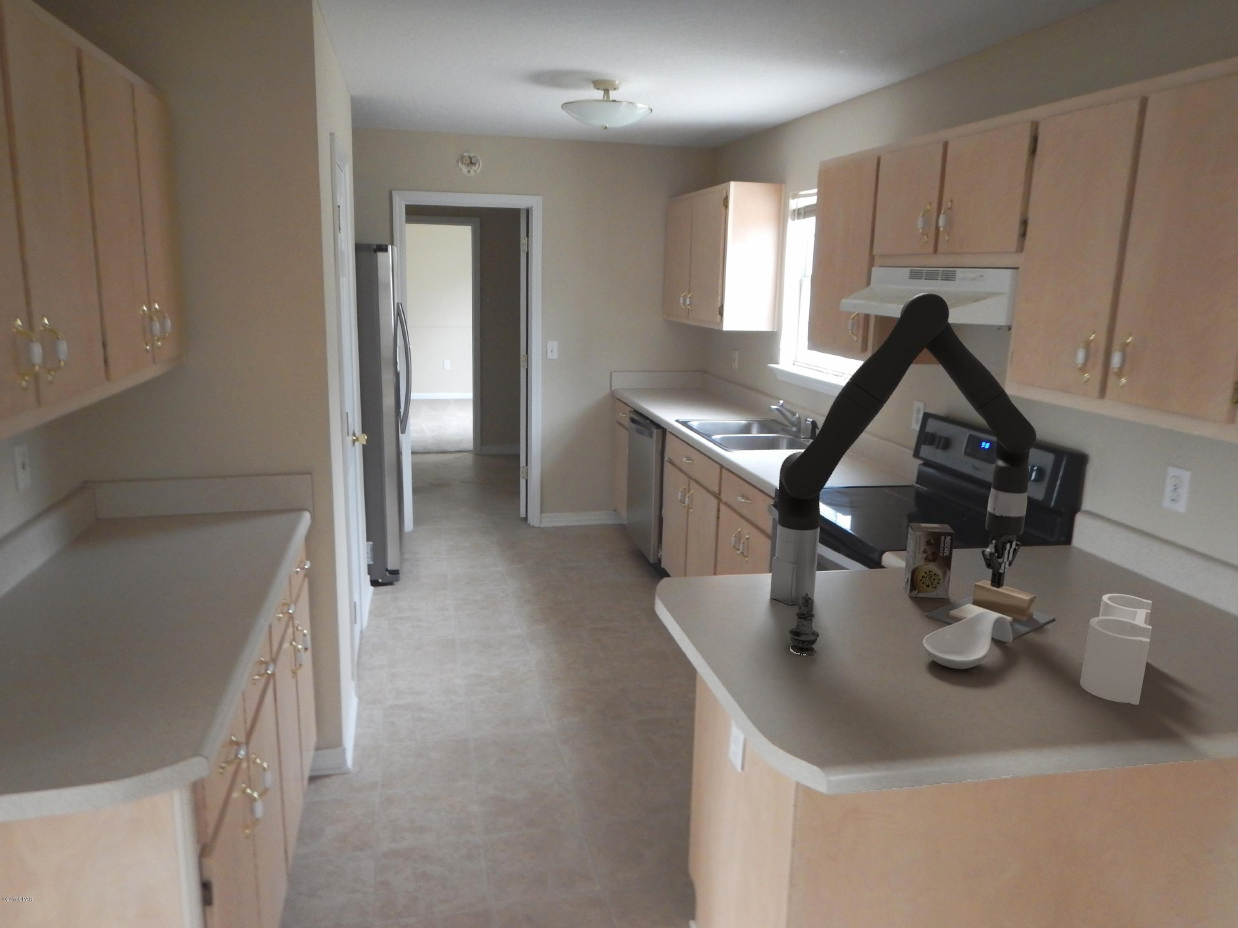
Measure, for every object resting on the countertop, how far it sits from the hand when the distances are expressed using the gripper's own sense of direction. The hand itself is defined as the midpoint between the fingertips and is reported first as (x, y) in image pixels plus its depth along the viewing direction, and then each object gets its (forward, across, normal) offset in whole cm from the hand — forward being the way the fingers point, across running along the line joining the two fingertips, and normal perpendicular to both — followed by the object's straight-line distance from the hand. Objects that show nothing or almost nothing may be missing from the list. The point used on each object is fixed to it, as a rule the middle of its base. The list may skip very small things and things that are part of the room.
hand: (996, 586), depth 194 cm
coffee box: (+7, 0, -17) cm, 18 cm away
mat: (+7, +1, 0) cm, 7 cm away
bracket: (+7, +9, +29) cm, 31 cm away
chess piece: (+7, +49, -13) cm, 51 cm away
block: (+7, -4, 0) cm, 8 cm away
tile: (+6, +6, 0) cm, 8 cm away
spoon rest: (+7, +24, +8) cm, 26 cm away
